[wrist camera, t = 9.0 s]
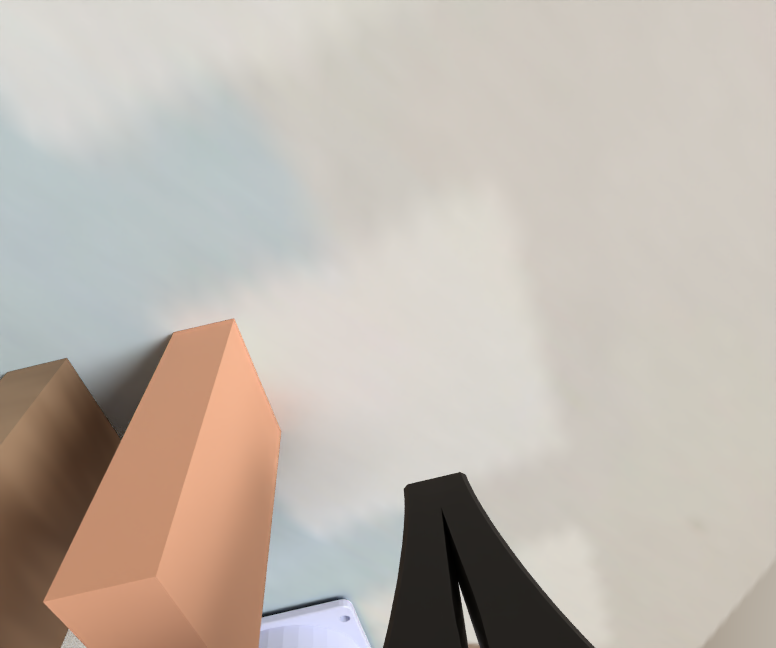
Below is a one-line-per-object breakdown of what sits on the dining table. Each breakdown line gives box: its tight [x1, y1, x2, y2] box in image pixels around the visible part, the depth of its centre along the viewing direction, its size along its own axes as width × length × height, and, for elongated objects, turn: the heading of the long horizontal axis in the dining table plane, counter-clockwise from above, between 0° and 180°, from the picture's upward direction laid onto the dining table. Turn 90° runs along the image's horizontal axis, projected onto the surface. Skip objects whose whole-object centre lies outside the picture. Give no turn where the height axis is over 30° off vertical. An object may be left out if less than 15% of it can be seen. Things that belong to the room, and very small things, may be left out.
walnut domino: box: [0, 358, 121, 648], centre depth 14 cm, size 5×2×9 cm, turn 12°
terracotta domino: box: [43, 319, 281, 648], centre depth 14 cm, size 5×2×9 cm, turn 11°
